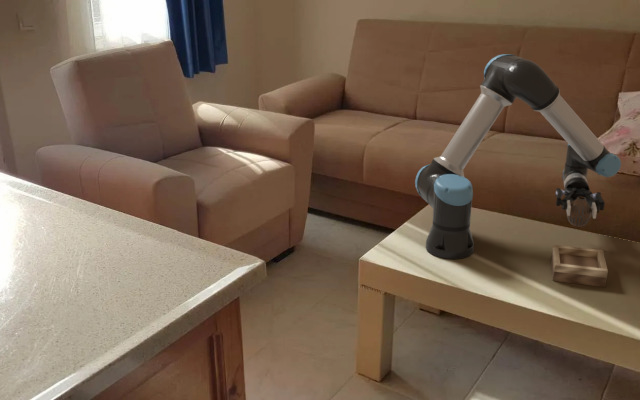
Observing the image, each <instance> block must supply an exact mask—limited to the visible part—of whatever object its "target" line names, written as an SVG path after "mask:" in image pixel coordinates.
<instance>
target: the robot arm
mask: <svg viewBox="0 0 640 400" xmlns="http://www.w3.org/2000/svg"><path fill="white" fill-rule="evenodd" d="M479 88H480V94H479V96H478V97H477V99H476V100H475V102H474V103H473V105H472V107H471V109H470V110H469V111H468V113H467V115H466V116H465V118H464V119H463V120H462V122H461V124H460V126H459V127H458V128H457V130H456V132H455V133H454V135H453V137H452V138H451V140H450V141H449V143H448V144H447V145H446V147H445V149H444V150H443V151H442V153H441V155H440V156H436V157H433V159H432V160H431V162H430V164H427V165H424V166H422V167H421V168H420V169H419V170H418V171H417V174H416V176H415V180H414V184H415V188H416V191H417V193H418V195H419V196H420V197H421V199H423V201H425V202H426V203H427V204H428V205H430V207H431V208H432V224H431V227H430V230H429V233H428V235H427V237H426V241H425V250H426V251H427V252H428V253H429V254H431V255H433V256H434V257H436V258H437V257H438V258H440V259H447V260H449V259H450V260H457V259H460V260H461V259H464V258H468V257H470V256H471V255H473V254H474V250H475V249H474V248H475V243H474V239H473V235H472V231H471V217H472V208H473V204H472V203H473V199H474V198H473V196H474V192H473V184H472V182H471V180H469V179H468V178H466V177H465V173H464V169H465V167H466V166H467V164H468V163H469V161H470V160H471V159H472V157H473V155H474V154H475V152H476V151H477V149H478V148H479V146H480V145H481V143H482V142H483V141H484V138H485V137H486V135H488V133H489V131H490V129H492V128H491V127H492V126H493V125H494V124H495V122H496V120H497V119H498V117H499V116H500V114H501V112H502V111H503V110H504V108H505V107H507V106H511V105H512V104H513V103H514V101H515V100H516V99H519V100H520V101H522V102H524V104H526V105H528V106H529V107H530V109H532V111H534V112H538V113H540V114H541V115H542V117H544V118H545V120H546V121H547V122H548V123H549V124H550V125H551V127H553V128H554V130H556V132H557V133H558V134H559V135H560V137H562V138H563V139H564V141H565V142H566V143H567V145H566V146H567V149H566V156H565V163H564V169H563V170H562V176H561V178H562V181H563V186H564V187H563V188H564V190H563V189H561V188H558V187H557V188H556V189H555V197H556V200H555V206H556V207H559V206H561V209H562V210H565V212H566V217H567V216H570V211H571V205H570V204H571V203H573V202H574V201H575V200H576V199H577V197H585V198H586V201H587V202H588V204H589V206H590V208H591V217H592V219H594V220H595V219H596V218H597V213H600V211H604V210H605V204H606V203H605V201H604V199H603V197H602V192H600V191H597V192H595V193H593V191H591V190H590V185H589V182H588V178H587V177H588V171H589V170H590V171H592V172H594V173H596V174H597V175H599V176H603V177H605V178H610V177H613V176H615V175H617V174H618V172H619V171H620V170H621V167H622V161H621V159H620V157H619V156H617V155H616V154H615V153H612V152H610V151H609V150H608V149H607V147H606V146H605V145H604V144H603V143H602V142H601V141H600V139H599V138H598V137H597V136H596V135H595V134H594V133H593V132H592V130H591V129H590V128H589V127H588V126H587V124H585V122H584V121H583V120H582V119H581V118H580V116H579V115H578V114H577V113H576V112H575V110H574V109H573V108H572V107H571V106H570V105H569V104H568V103H567V101H566V100H565V99H564V97H562V95H561V94H560V93H561V90H560V88H559V86H557V84H556V83H555V82H554V81H553V80H552V78H551V76H549V75H548V73H546V71H545V70H544V69H543V68H542V67H541V66H540V65H539V64H537V63H536V62H534V61H533V60H531V59H525V58H523V57H520V56H517V55H516V54H510V53H509V54H506V53H505V54H504V53H503V54H497V55H496V56H494V57H492V58H491V59H490V60H489V61H488V63H486V65H485V67H484V70H483V81H482V82H481V84H480V85H479ZM563 196H564V197H563ZM562 197H563V199H562Z"/></svg>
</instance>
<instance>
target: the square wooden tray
mask: <svg viewBox="0 0 640 400" xmlns="http://www.w3.org/2000/svg"><path fill="white" fill-rule="evenodd" d="M550 262H551V265H550V266H551V275H552V281H553V282H554V281H555V282H561V283H569V284H577V285H585V286H595V287H602V288H606V285H607V278H608V272H609V271H608V270H609V269H608V266H607V263H606V258H605V254H604V251H603V249H594V248H585V247H578V246H577V247H576V246H568V245H567V246H566V245H559V244H553V245H552V249H551V257H550Z"/></svg>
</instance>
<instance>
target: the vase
mask: <svg viewBox="0 0 640 400" xmlns="http://www.w3.org/2000/svg"><path fill="white" fill-rule="evenodd" d="M570 205H571V211H570V216H567V215H566V218H567V220H568V223H570V224H571V226H575V227H584V226H586V225H587V224H588V223H589V222H590V221H591V217H592V212H591V207H590V206H589V204H588V202H587V201H586V198H585V197H577V199H576V200H575V201H573V202H570Z"/></svg>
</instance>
